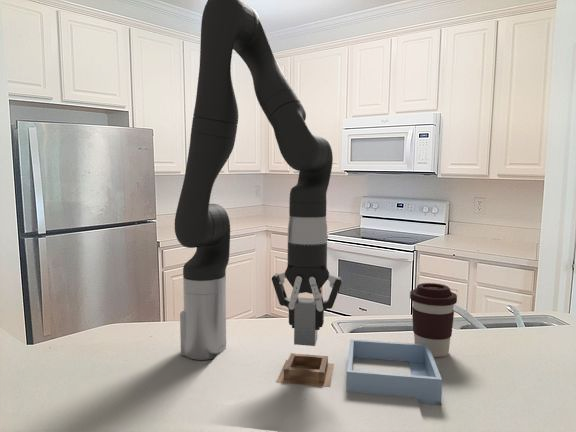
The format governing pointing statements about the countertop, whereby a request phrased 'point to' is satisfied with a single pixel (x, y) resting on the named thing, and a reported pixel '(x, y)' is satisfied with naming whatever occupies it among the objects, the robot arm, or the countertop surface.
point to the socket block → (307, 370)
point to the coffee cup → (433, 316)
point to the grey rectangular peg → (305, 322)
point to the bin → (418, 384)
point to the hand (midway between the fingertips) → (306, 327)
